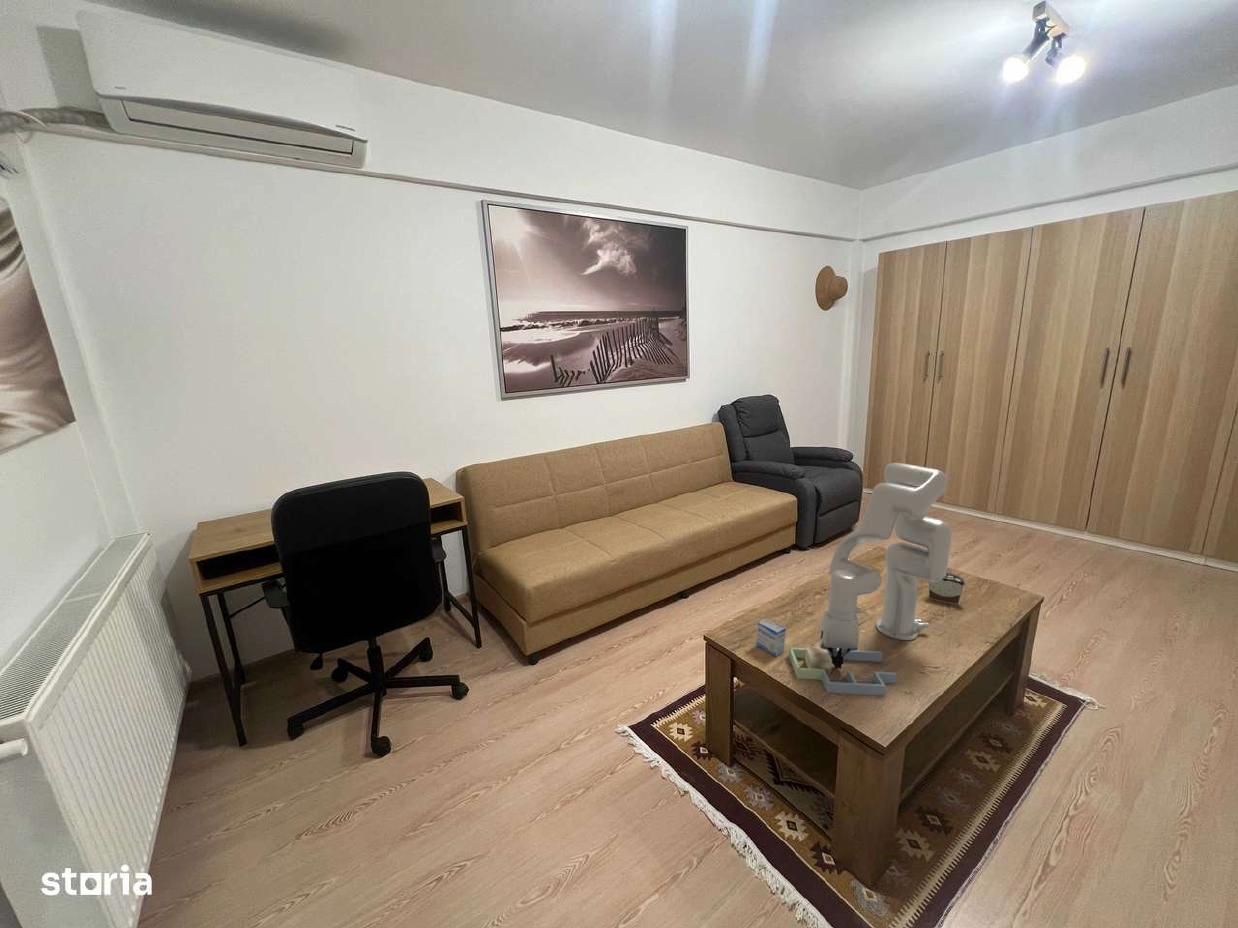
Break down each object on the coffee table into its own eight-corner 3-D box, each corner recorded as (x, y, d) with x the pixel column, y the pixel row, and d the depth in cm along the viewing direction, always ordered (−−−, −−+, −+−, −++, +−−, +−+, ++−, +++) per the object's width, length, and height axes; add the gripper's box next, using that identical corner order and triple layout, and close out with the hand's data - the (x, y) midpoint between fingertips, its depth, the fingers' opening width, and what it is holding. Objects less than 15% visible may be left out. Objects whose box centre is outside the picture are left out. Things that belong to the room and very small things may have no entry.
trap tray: (880, 659, 154) (881, 651, 153) (904, 696, 138) (905, 687, 137) (788, 655, 157) (789, 647, 156) (801, 691, 141) (802, 682, 140)
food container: (962, 598, 189) (965, 574, 186) (962, 605, 184) (966, 581, 181) (924, 591, 195) (927, 567, 193) (924, 597, 190) (927, 573, 188)
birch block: (824, 661, 153) (825, 647, 152) (830, 674, 148) (832, 659, 146) (804, 661, 154) (805, 647, 153) (810, 673, 148) (811, 659, 147)
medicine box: (755, 645, 163) (756, 622, 161) (764, 640, 165) (765, 617, 163) (776, 657, 156) (777, 632, 154) (784, 651, 159) (786, 627, 157)
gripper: (863, 605, 148) (857, 659, 153) (812, 604, 150) (808, 657, 154) (873, 619, 141) (867, 674, 145) (819, 617, 143) (814, 672, 147)
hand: (836, 665), depth 150 cm, fingers closed
